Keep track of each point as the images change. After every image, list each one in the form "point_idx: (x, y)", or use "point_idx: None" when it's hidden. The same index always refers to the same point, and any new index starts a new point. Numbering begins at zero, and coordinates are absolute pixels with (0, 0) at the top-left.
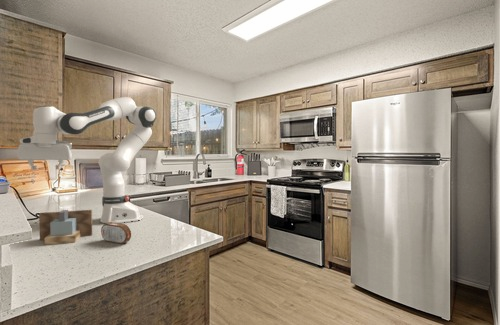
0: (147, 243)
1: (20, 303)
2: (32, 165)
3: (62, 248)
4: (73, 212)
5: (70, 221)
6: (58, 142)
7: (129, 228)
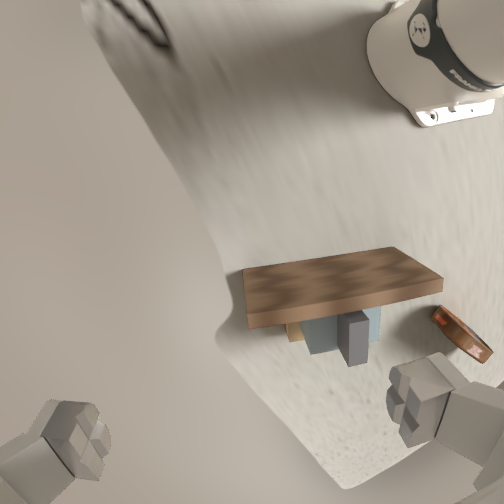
0: (495, 335)
1: (346, 488)
2: (70, 481)
3: None
4: (381, 303)
5: (373, 340)
6: None
7: (492, 351)
